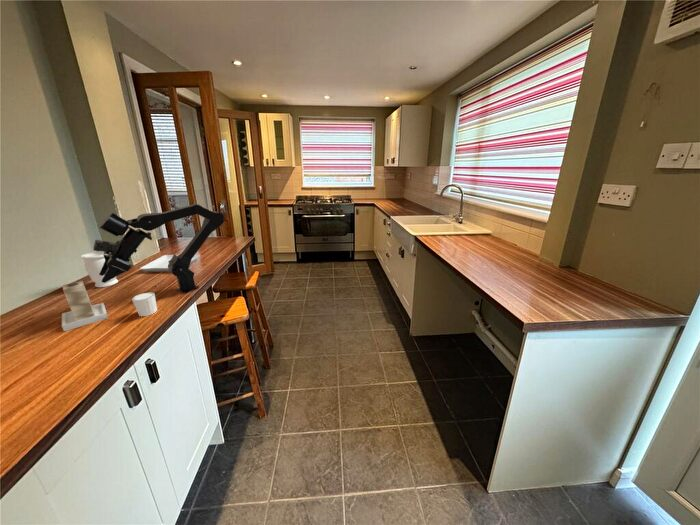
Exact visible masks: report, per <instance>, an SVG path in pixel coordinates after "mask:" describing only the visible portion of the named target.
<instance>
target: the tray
mask: <svg viewBox="0 0 700 525" xmlns="http://www.w3.org/2000/svg"><path fill="white" fill-rule="evenodd" d="M92 307H93V310H94V315H95V316H92V317H89V318H85V319H82V320H78V321H76V320H75V318H74V315H73V313H72V311H71V310H70V311H67V312H62V313H61V328H62V330H63V331H64V332H67V331H70V330H73V329H76V328H80V327H83V326H84V327H85V326H86V325H90V324H94V323H97V322H100V321H103V320H107V319H109V316H108V312H107V309H106V307H105V303H104V302H100V303H97V304H92Z"/></svg>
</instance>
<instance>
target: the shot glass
mask: <svg viewBox="0 0 700 525" xmlns="http://www.w3.org/2000/svg"><path fill="white" fill-rule="evenodd" d="M131 300H132V303H133V305H134V307H135V309H136V311H137V313H138V316H139V317H140V316H141V318H143V317H142V316H147V317H149V316H148V315H151V314H153V313H155V312H156V311H157V312H158V307H157V301H156V294H155V292H144V293H143V292H142V293H139V294H137V295H135V296H133V297H132V298H131ZM157 312H156V313H157ZM156 313H155V314H156ZM153 315H154V314H153ZM151 316H152V315H151Z"/></svg>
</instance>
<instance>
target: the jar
mask: <svg viewBox="0 0 700 525" xmlns="http://www.w3.org/2000/svg"><path fill="white" fill-rule="evenodd" d="M103 254H104V251H95V250H94V251H91V252H88V253H84V254H81V256H80V257H81V259H83V263H84V268H85V271H86V273H87V275H88V276H89V278H90V279H91V280H92V281H93V283H94V286H95V288H105V287H110V286H113V285H116V284H117V283H118V282H119V280H118V279H117V277H118V276H116V277H115V278H113V279H111V280H109V281H107V282H105V283H103V282H102V279H103V277H104V275H103V276H101V275H99V273H100V271H101V269H102V267H103V264H104V262H105V258H104V255H103ZM105 255H107V254H105Z"/></svg>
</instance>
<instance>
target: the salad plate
mask: <svg viewBox="0 0 700 525" xmlns="http://www.w3.org/2000/svg"><path fill="white" fill-rule="evenodd" d="M173 255H174V254H165V255H162V256H160V257H158V258H156V259H154V260H153V261H151V262H149V263H146V264H145V265H143V266H141V267H140V268H139V270H141V271H143V272H155V273H156V272H170V271H169V269H168V264H169V262H168V261H170V260H171V259H172V257H173ZM175 255H176V256H178V255H179V254H175ZM200 258H201V254H195V255H194V257H193V258H192V260H191V263H190V265H191V264H192V263H194V262H195V261H197V260H198V259H200Z"/></svg>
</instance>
